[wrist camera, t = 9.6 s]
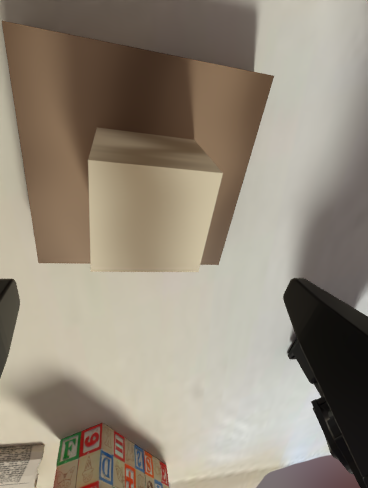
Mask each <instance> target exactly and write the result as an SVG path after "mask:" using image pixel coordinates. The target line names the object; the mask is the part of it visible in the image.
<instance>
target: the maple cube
mask: <svg viewBox="0 0 368 488" xmlns="http://www.w3.org/2000/svg"><path fill="white" fill-rule="evenodd" d="M88 175H89V218H90V260H91V272H198V271H199V267H200V263H201V259H202V255H203V251H204V247H205V243H206V239H207V235H208V231H209V227H210V223H211V219H212V215H213V211H214V207H215V203H216V199H217V195H218V191H219V187H220V183H221V179H222V175H223V173H222V172H221V170H220V169H219V168H218V167H217V166H216V165H215V163H214V162H213V161H212V160H211V159H210V157H209V156H208V155H207V154H206V153H205V152H204V150H203V149H202V148H201V147H200V146H199V145H198V143H197V142H196V141H195V140H192V139H184V138H176V137H168V136H160V135H153V134H145V133H137V132H129V131H121V130H113V129H106V128H98V127H97V129H96V133H95V136H94V140H93V144H92V148H91V151H90V155H89V159H88Z"/></svg>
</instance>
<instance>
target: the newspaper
mask: <svg viewBox="0 0 368 488" xmlns="http://www.w3.org/2000/svg"><path fill="white" fill-rule="evenodd" d="M44 446H45V445H33V446H17V447H2V448H0V488H36V484H37V479H38V474H37V469H38V466H39V464H40V462H41V460H42V457H43V452H44Z"/></svg>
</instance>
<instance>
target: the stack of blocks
mask: <svg viewBox="0 0 368 488" xmlns="http://www.w3.org/2000/svg"><path fill="white" fill-rule="evenodd" d="M53 488H169V484H168V474H167V467H166V465H165V464H164V463H162V462H160V461H159V460H158V459H157V458H155V457H154V456H152V455H151V454H149V453H148V452H146V451H145V450H143V449H141V448H140V447H138V446H136V445H135V444H133V443H132V442H130V441H128V440H127V439H125V438H124V437H123V436H122V435H120V434H119V433H117V432H115V431H114V430H113V429H111V428H110V427H108V426H107V425H105V424H104V423H101V424H98V425H96V426H94V427H91V428H89V429H86V430H84V431H81V432H79V433H77V434H74V435H72V436H69V437H67V438H64V439H61V441H60V447H59V452H58V459H57V469H56V475H55V481H54V487H53Z"/></svg>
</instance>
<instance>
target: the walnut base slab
mask: <svg viewBox="0 0 368 488" xmlns="http://www.w3.org/2000/svg"><path fill="white" fill-rule="evenodd" d="M2 26H3V33H4V39H5V46H6V52H7V59H8V65H9V72H10V79H11V85H12V92H13V98H14V105H15V111H16V118H17V125H18V131H19V138H20V144H21V151H22V157H23V164H24V170H25V177H26V184H27V190H28V197H29V203H30V210H31V216H32V223H33V229H34V236H35V243H36V249H37V256H38V262H39V263H91V260H90V218H89V175H88V159H89V155H90V151H91V148H92V144H93V140H94V136H95V133H96V129H97V127H98V128H106V129H113V130H121V131H129V132H137V133H145V134H153V135H160V136H168V137H176V138H184V139H192V140H195V141H196V142H197V143H198V145H199V146H200V147H201V148H202V149H203V150H204V152H205V153H206V154H207V155H208V156H209V157H210V159H211V160H212V161H213V162H214V163H215V165H216V166H217V167H218V168H219V169H220V170H221V172H222V173H223V175H222V179H221V183H220V187H219V191H218V195H217V199H216V203H215V207H214V211H213V215H212V219H211V223H210V227H209V231H208V235H207V239H206V243H205V247H204V251H203V255H202V259H201V263H200V265H219V261H220V258H221V254H222V251H223V248H224V244H225V241H226V237H227V234H228V231H229V227H230V224H231V220H232V217H233V214H234V210H235V207H236V203H237V200H238V197H239V193H240V190H241V186H242V183H243V180H244V176H245V173H246V169H247V166H248V163H249V159H250V156H251V152H252V149H253V146H254V142H255V139H256V135H257V132H258V129H259V125H260V122H261V118H262V115H263V112H264V108H265V105H266V101H267V98H268V95H269V91H270V88H271V84H272V81H273V78H274V76H272V75H267V74H262V73H257V72H252V71H247V70H242V69H237V68H232V67H227V66H222V65H217V64H213V63H208V62H203V61H198V60H193V59H188V58H183V57H178V56H173V55H168V54H163V53H158V52H154V51H149V50H144V49H139V48H134V47H129V46H124V45H119V44H114V43H109V42H104V41H99V40H94V39H90V38H85V37H80V36H75V35H70V34H65V33H60V32H55V31H50V30H45V29H40V28H35V27H31V26H26V25H21V24H16V23H11V22H6V21H2Z"/></svg>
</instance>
